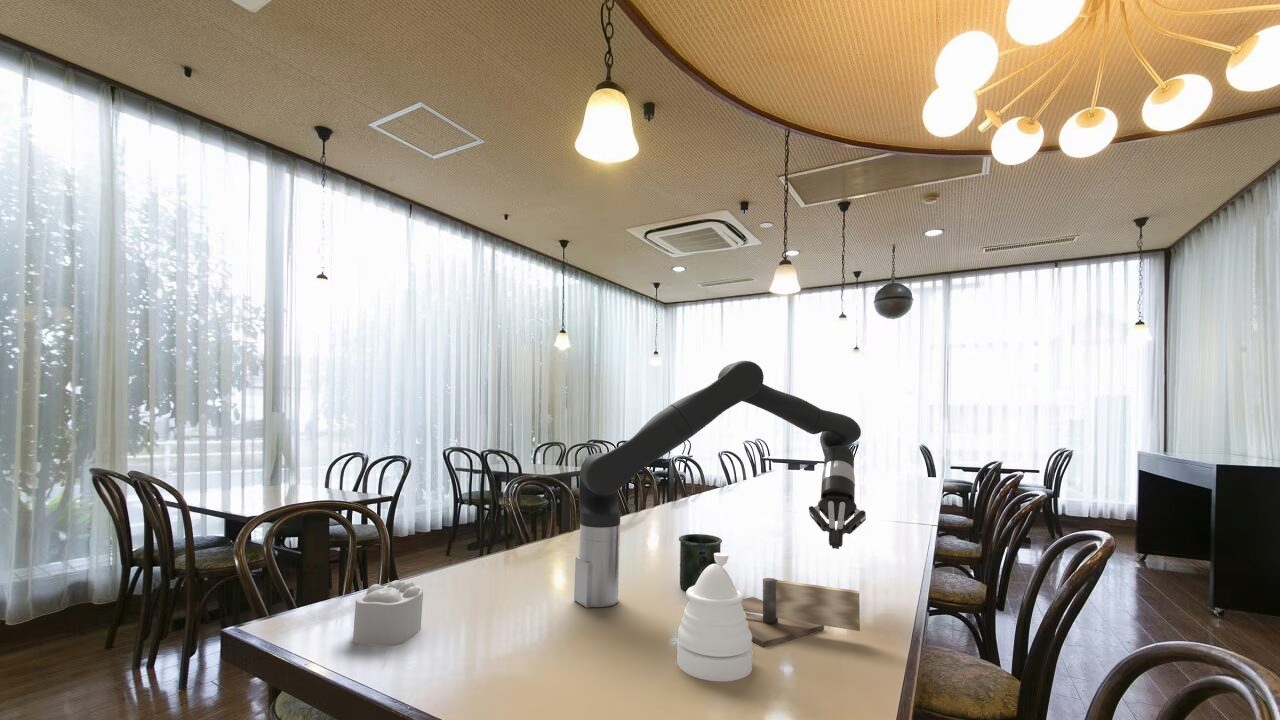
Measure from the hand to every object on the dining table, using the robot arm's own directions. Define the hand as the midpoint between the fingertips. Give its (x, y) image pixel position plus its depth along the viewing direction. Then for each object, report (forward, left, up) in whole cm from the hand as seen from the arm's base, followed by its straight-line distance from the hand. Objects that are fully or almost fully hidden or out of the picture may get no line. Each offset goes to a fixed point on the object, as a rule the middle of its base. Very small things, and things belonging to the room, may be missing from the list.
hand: (835, 546), depth 121 cm
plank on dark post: (-16, 0, -13) cm, 21 cm away
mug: (-14, +29, -15) cm, 35 cm away
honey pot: (-38, -4, -15) cm, 41 cm away
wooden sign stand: (-17, +6, -15) cm, 24 cm away
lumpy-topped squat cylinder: (-83, +38, -15) cm, 93 cm away
